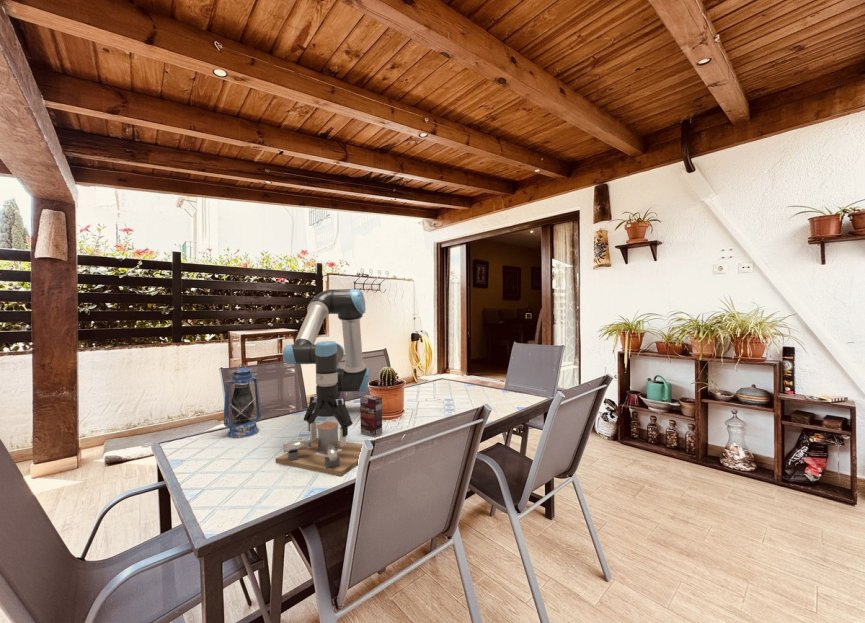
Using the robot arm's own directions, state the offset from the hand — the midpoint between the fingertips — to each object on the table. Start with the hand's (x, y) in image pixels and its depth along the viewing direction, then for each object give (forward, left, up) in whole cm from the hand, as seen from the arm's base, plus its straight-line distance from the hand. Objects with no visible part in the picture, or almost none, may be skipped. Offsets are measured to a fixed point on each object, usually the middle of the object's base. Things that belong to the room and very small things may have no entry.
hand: (327, 442), depth 135 cm
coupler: (0, 0, -3) cm, 3 cm away
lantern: (-7, -51, -5) cm, 52 cm away
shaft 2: (+7, +7, -4) cm, 11 cm away
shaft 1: (+7, -7, -4) cm, 11 cm away
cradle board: (0, 0, -5) cm, 5 cm away
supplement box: (-26, +2, -5) cm, 27 cm away
